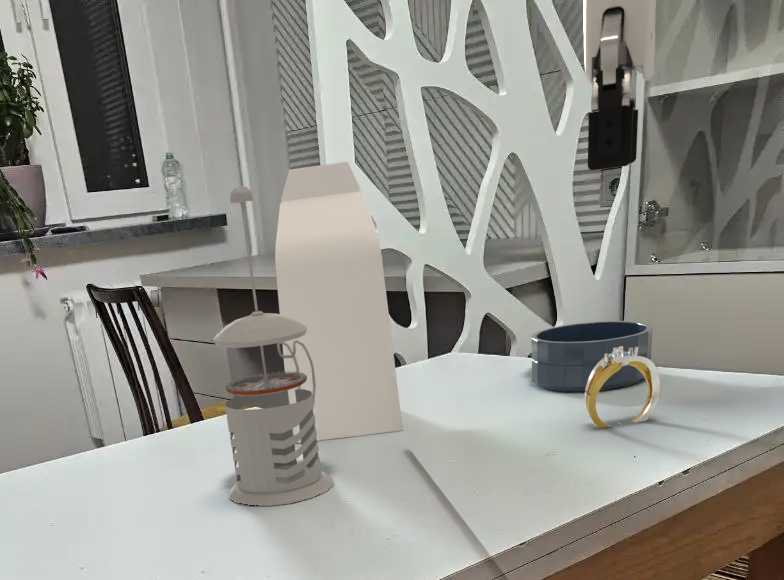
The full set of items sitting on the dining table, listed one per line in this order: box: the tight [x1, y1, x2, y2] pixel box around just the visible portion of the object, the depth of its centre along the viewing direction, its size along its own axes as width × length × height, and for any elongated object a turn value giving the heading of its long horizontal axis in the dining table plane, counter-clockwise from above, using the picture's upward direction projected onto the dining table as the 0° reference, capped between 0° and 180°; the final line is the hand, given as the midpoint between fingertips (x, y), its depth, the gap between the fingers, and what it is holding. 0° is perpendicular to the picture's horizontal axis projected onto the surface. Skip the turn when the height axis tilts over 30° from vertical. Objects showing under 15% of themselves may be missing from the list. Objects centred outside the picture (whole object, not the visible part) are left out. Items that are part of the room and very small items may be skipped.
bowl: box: [531, 320, 653, 393], centre depth 106 cm, size 13×13×6 cm
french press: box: [212, 185, 334, 507], centre depth 78 cm, size 10×12×25 cm
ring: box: [583, 346, 661, 429], centre depth 84 cm, size 7×3×8 cm, turn 96°
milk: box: [274, 161, 404, 444], centre depth 96 cm, size 12×12×26 cm
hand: (613, 166), depth 75 cm, fingers open, 9 cm apart
